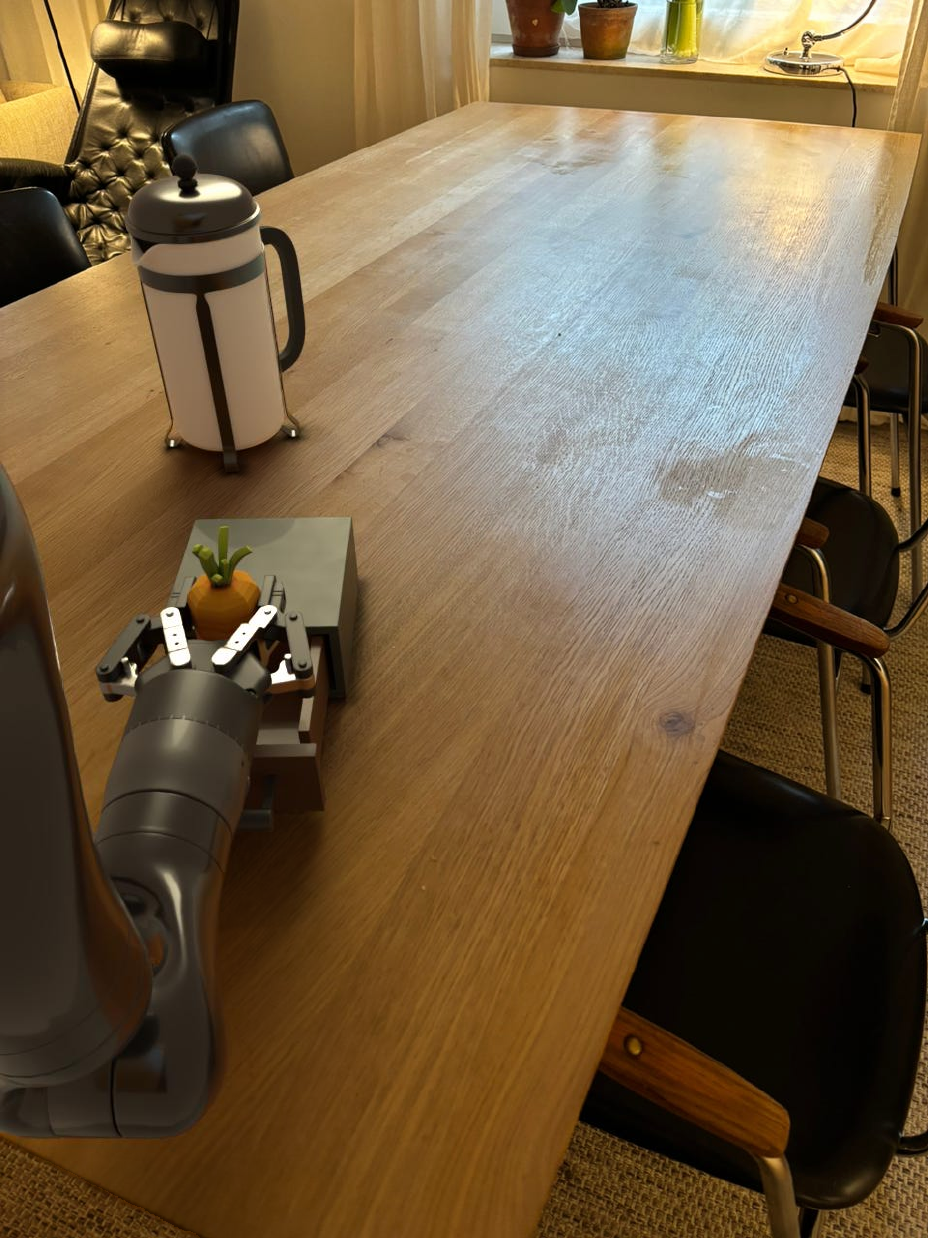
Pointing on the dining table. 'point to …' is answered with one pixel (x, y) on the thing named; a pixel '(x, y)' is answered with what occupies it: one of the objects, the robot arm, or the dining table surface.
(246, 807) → the drawer
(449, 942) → the dining table surface
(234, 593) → the carrot
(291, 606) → the cabinet
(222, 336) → the coffee press
